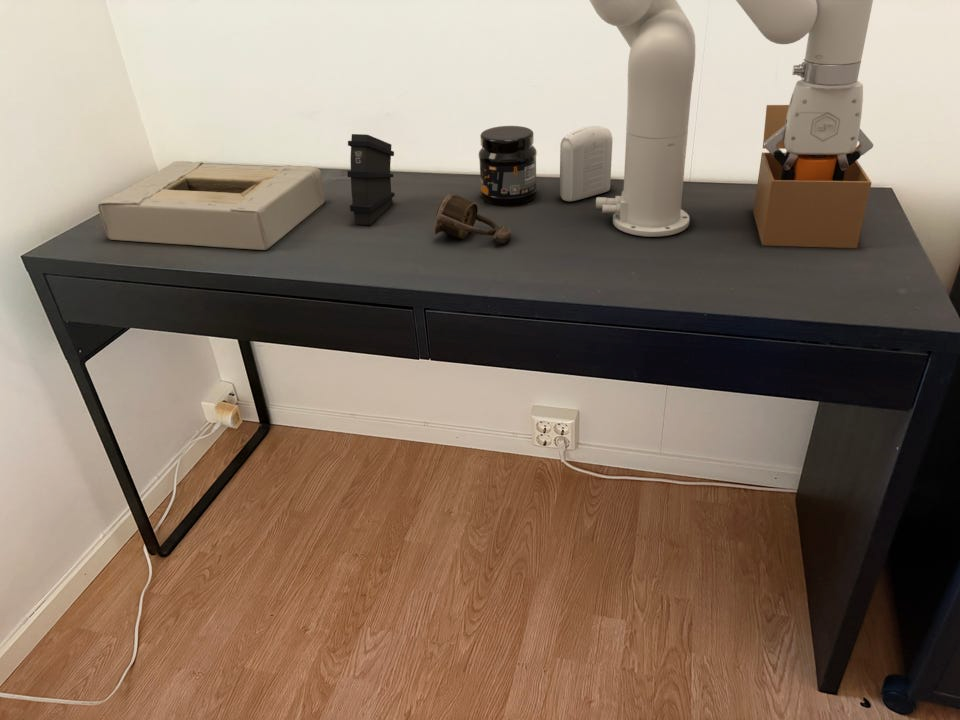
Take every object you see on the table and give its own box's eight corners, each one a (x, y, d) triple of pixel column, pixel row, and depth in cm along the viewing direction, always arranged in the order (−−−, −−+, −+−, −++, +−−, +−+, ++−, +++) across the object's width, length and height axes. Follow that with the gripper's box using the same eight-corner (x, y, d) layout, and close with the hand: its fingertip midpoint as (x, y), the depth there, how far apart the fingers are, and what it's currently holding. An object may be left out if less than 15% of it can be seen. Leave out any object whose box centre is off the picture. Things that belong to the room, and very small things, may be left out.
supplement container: (482, 188, 149) (478, 125, 143) (536, 186, 148) (535, 123, 142) (479, 208, 140) (476, 142, 134) (537, 206, 139) (536, 140, 133)
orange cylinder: (799, 207, 119) (809, 152, 114) (781, 194, 124) (789, 141, 120) (836, 203, 120) (847, 148, 115) (816, 190, 125) (825, 137, 120)
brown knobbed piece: (467, 189, 133) (422, 192, 126) (521, 198, 124) (476, 202, 118) (465, 231, 135) (421, 236, 129) (518, 243, 127) (474, 249, 120)
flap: (766, 104, 124) (766, 105, 125) (762, 148, 126) (762, 148, 126) (858, 104, 122) (857, 104, 122) (853, 148, 123) (852, 149, 123)
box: (327, 202, 147) (181, 194, 155) (321, 162, 143) (170, 156, 151) (270, 254, 129) (107, 242, 136) (261, 210, 124) (92, 200, 132)
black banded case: (343, 222, 133) (348, 133, 131) (375, 227, 145) (379, 146, 144) (363, 224, 132) (368, 134, 130) (393, 228, 144) (398, 146, 142)
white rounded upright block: (598, 185, 147) (600, 119, 140) (613, 191, 144) (616, 124, 137) (556, 198, 142) (556, 130, 136) (570, 204, 139) (571, 136, 133)
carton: (762, 245, 120) (771, 180, 115) (753, 212, 132) (761, 152, 126) (856, 248, 118) (871, 182, 112) (839, 214, 129) (852, 153, 124)
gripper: (770, 79, 110) (754, 200, 120) (901, 78, 107) (873, 202, 117) (764, 68, 117) (749, 183, 126) (888, 66, 113) (863, 185, 123)
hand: (809, 191), depth 121 cm, fingers closed on orange cylinder, 6 cm apart
